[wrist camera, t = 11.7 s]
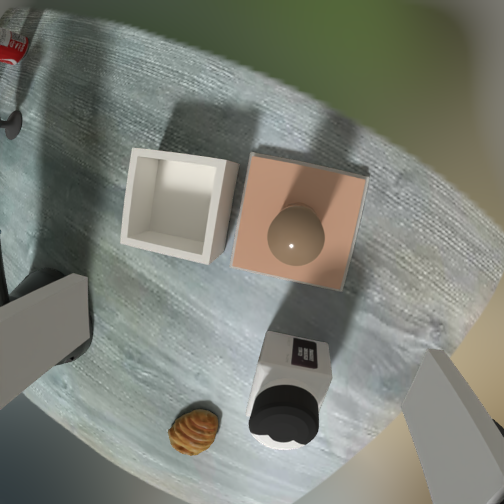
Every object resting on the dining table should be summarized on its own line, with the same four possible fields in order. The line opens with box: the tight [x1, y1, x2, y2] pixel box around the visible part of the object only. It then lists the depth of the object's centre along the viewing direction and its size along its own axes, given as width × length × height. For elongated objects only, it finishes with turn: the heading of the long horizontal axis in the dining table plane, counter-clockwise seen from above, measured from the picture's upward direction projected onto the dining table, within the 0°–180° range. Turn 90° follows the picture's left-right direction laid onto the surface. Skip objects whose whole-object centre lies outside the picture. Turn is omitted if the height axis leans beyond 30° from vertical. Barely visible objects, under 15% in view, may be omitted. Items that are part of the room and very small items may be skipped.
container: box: [246, 331, 332, 450], centre depth 32 cm, size 8×8×13 cm
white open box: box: [120, 148, 239, 265], centre depth 33 cm, size 10×10×6 cm
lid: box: [232, 156, 365, 290], centre depth 29 cm, size 12×12×10 cm
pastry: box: [168, 409, 218, 456], centre depth 41 cm, size 9×7×4 cm
